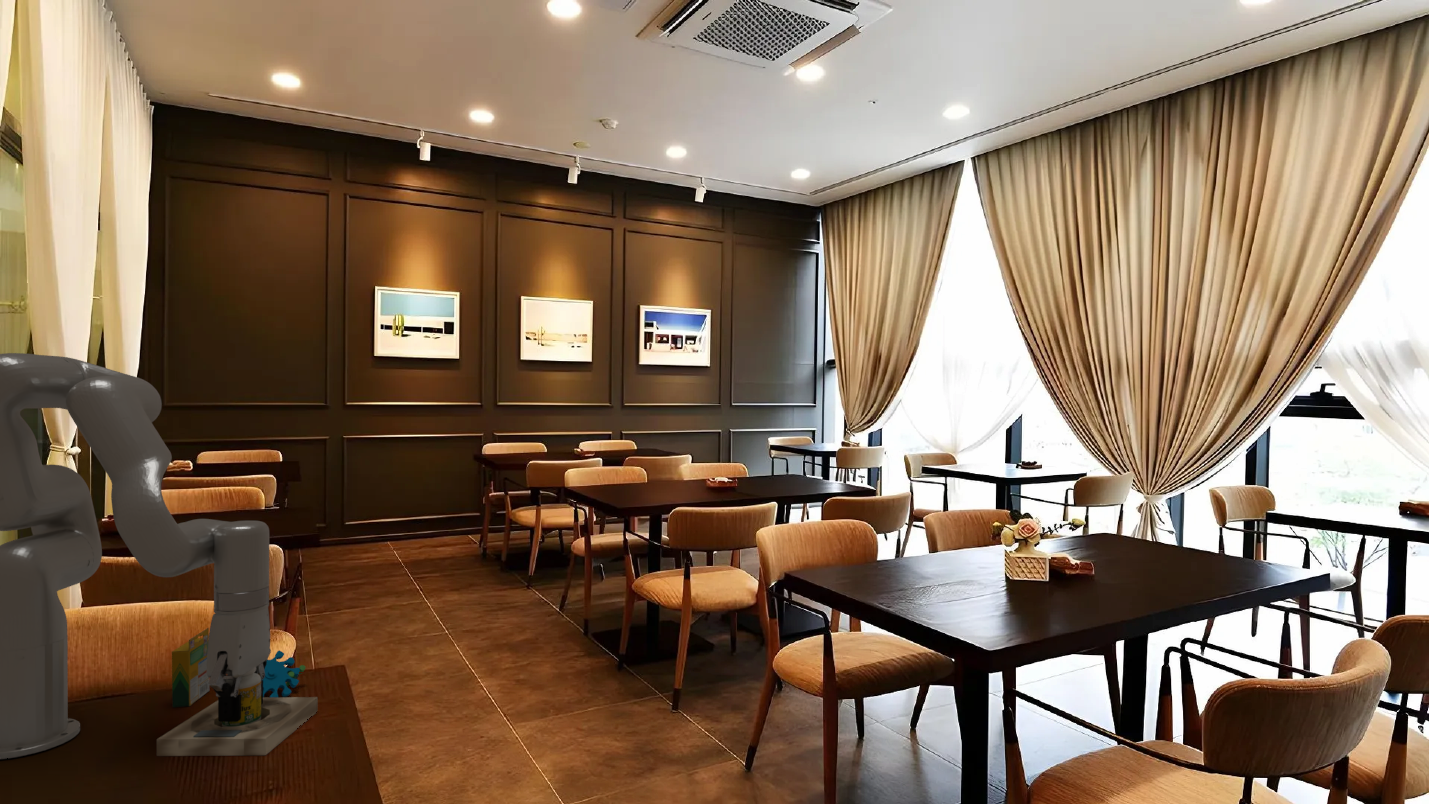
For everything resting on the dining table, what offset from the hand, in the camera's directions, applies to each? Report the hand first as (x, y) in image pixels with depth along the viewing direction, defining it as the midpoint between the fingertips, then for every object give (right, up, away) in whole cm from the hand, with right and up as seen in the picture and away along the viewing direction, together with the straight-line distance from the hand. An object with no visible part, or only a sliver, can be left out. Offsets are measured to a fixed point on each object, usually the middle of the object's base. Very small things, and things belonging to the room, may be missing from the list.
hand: (241, 711), depth 124 cm
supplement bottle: (0, -2, 0) cm, 2 cm away
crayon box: (-17, -3, +14) cm, 22 cm away
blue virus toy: (-4, -4, +16) cm, 17 cm away
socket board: (0, -3, 0) cm, 3 cm away
